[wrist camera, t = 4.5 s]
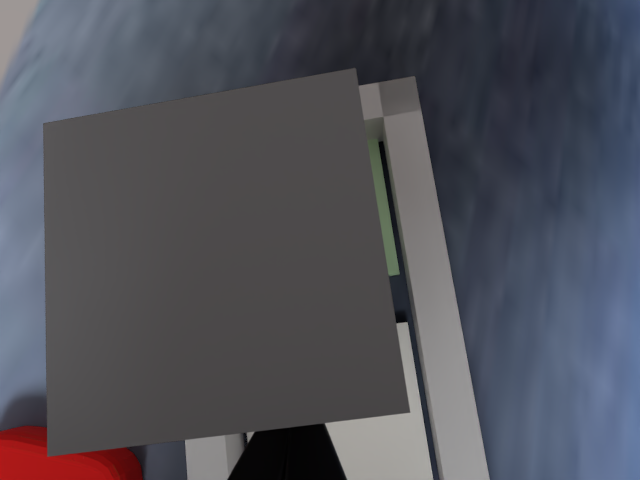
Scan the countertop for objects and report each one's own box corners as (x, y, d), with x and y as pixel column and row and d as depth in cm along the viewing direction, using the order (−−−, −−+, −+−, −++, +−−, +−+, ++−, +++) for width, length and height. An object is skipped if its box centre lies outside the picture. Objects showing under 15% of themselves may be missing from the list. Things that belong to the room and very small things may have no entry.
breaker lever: (391, 373, 17) (410, 413, 6) (263, 389, 17) (47, 457, 6) (372, 245, 17) (355, 67, 7) (250, 263, 18) (43, 123, 7)
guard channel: (502, 605, 15) (519, 641, 13) (222, 630, 16) (200, 668, 14) (411, 104, 19) (414, 76, 17) (185, 142, 20) (163, 120, 18)
